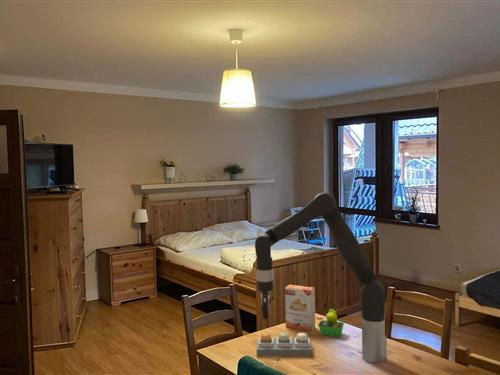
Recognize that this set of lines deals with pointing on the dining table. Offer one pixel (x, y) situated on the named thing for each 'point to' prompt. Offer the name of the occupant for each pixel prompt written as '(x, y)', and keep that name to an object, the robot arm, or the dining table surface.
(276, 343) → the control panel
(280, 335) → the sage button
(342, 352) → the dining table surface
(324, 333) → the fruit basket
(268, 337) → the orange button
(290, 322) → the cracker box
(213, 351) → the dining table surface
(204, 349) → the dining table surface
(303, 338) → the cream button
